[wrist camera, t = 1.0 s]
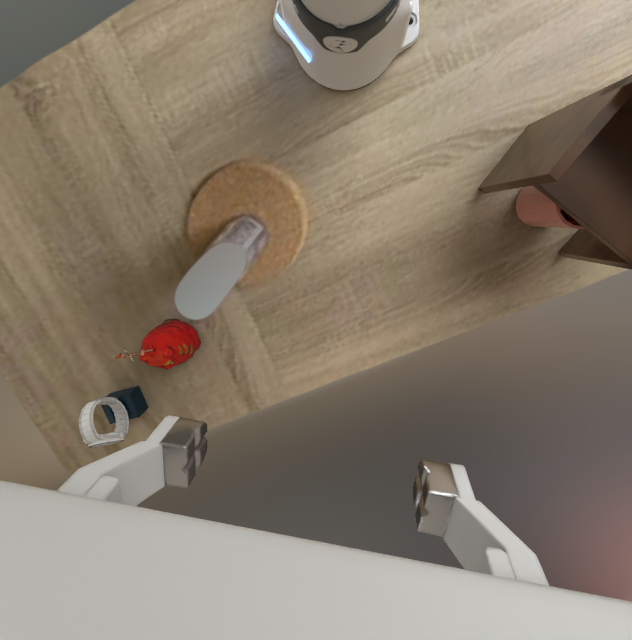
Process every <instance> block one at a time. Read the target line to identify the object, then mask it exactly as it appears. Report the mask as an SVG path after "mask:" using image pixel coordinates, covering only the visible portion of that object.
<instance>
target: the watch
mask: <svg viewBox="0 0 632 640" xmlns="http://www.w3.org/2000/svg"><path fill="white" fill-rule="evenodd" d="M96 405H101V406H102V408H103V410H104V412H105V414H106V416H107V418H108V420H109V422H110V424H112V423H116V429H115V432H110V433H105V434H100V435H99V434H98V433H96V432H97V431H96V429H95V427H94V422H93V414H94V409H95V407H96ZM147 409H148V405H147V403H146V401H145V399H144V397H143V394H142V392H141V390H140V388H139V386H136V387H132V388H128V389H125V390H121V391H117V392H113V393H110V394H109V395H108V396H106V397H104V398H100V399H97V400H93V401H89V403H87V404H86V405H85V406H84V407H83V409H82V411H81V413H80V417H79V424H80V425H79V430H80V433H81V436H82V437H83V441H84V442H85V443H86V444H89V445H88V447H99V446H105V445H110V444H115V443H118V442H121V441H124V437H126V436H127V431H128V427H129V426H128V425H129V419H132V418H136V417H140V416H141V415H142V414H143V413H144V412H145V411H146V410H147ZM91 421H92V422H91ZM89 426H90V427H89ZM85 427H86V428H85Z"/></svg>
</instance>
